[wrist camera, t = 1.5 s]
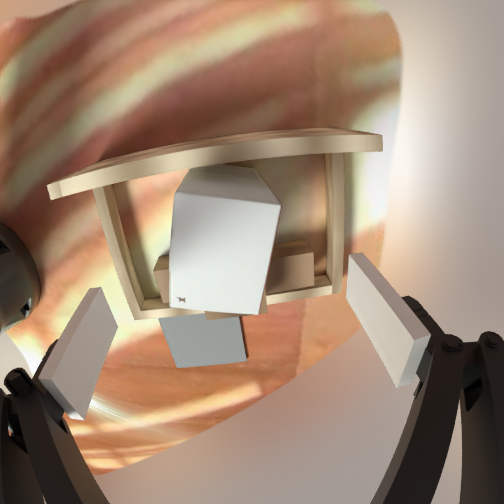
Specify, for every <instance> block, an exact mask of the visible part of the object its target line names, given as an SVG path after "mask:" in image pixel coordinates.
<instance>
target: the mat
mask: <svg viewBox="0 0 504 504" xmlns="http://www.w3.org/2000/svg"><path fill="white" fill-rule="evenodd" d="M158 319H159V322H160V325H161V328H162V330H163V333H164V336H165V338H166V341H167V343H168V346H169V348H170V351H171V353H172V356H173V358H174V361H175V363H176V366H177V368H183V367H195V366H207V365H217V364H226V363H234V362H242V361H247V359H246V353H245V348H244V342H243V337H242V331H241V325H240V319H239V317H232V318H223V319H215V320H206V316H205V313H200V314H191V315H182V316H173V317H163V318H158Z"/></svg>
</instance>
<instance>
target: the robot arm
mask: <svg viewBox="0 0 504 504" xmlns="http://www.w3.org/2000/svg"><path fill="white" fill-rule="evenodd" d="M39 298H40V282H39V277H38V273H37V270H36V267H35V264H34V262H33V260H32V258H31V256H30V254H29V252H28V250H27V249H26V247H25V246H24V244H23V243H22V242H21V240H20V239H19V238H18V237H17V236H16V235H15V234H14V233H13V232H12V231H11V230H10V229H9V228H7V227H6V226H4V225H3V224H1V223H0V335H1V334H2V333H3V332H5V331H7V330H8V329H10V328H12V327H13V326H15V325H17V324H19V323H20V322H22V321H24V320H25V319H26V318H27V317H29V315H30V314H31V313H32V311H33V310H34V309H35V307H36V306H37V304H38V301H39ZM346 299H347V301H348V302H349V304H350V306H351V307H352V309H353V311H354V312H355V314H356V316H357V318H358V319H359V321H360V323H361V324H362V326H363V328H364V330H365V331H366V333H367V335H368V336H369V338H370V340H371V342H372V344H373V345H374V347H375V349H376V351H377V352H378V354H379V356H380V358H381V360H382V361H383V363H384V365H385V367H386V369H387V370H388V372H389V374H390V376H391V378H392V380H393V382H394V383H395V385H396V387H397V388H398V387H401V386H404V385H407V384H410V383H412V382H413V380H414V378H415V375H416V374H417V375H418V377H419V379H420V382H419V384H418V386H417V388H416V390H415V393H414V396H415V397H414V400H413V404H412V407H411V410H410V413H409V416H408V419H407V422H406V425H405V427H404V430H403V433H402V435H401V438H400V441H399V443H398V446H397V448H396V451H395V453H394V455H393V458H392V460H391V462H390V465H389V467H388V469H387V471H386V474H385V476H384V478H383V480H382V482H381V484H380V486H379V488H378V490H377V492H376V494H375V496H374V498H373V500H372V501H371V503H370V504H431V501H432V498H433V496H434V493H435V491H436V488H437V485H438V482H439V479H440V476H441V473H442V470H443V467H444V463H445V460H446V457H447V453H448V450H449V446H450V442H451V438H452V433H453V429H454V425H455V420H456V415H457V410H458V404H459V398H460V409H461V424H462V479H461V492H460V503H459V504H504V341H503V339H502V337H500V336H499V335H498V334H496V333H494V332H490V331H487V332H484V333H482V334H481V336H480V338H479V340H478V342H465V343H464V342H463V341H462V340H461V339H460V338H458V337H457V336H454V335H451V334H445V333H444V332H443V331H442V329H441V328H440V327H439V326H438V324H437V323H436V322H435V321H434V320H433V318H432V317H431V316H430V315H428V313H427V311H426V310H425V309H424V308H423V307H422V306H421V304H420V303H419V302H418V301H417V300H415V299H413V298H412V297H410V296H405V297H400V295H399V294H398V293H397V292H396V291H395V289H394V288H393V287H392V286H391V285H390V283H389V282H388V281H387V280H386V279H385V278H384V276H383V275H382V274H381V273H380V272H379V271H378V270H377V268H376V267H375V266H374V265H373V264H372V263H371V262H370V261H369V259H368V258H367V257H366V256H365V255H364V254H363V253H355V254H349V263H348V279H347V293H346ZM117 328H118V326H117V324H116V321H115V319H114V317H113V315H112V312H111V310H110V308H109V305H108V303H107V300H106V298H105V295H104V293H103V290H102V288H101V287H98V288H90V289H89V290H88V292H87V293H86V295H85V297H84V298H83V300H82V301H81V303H80V304H79V306H78V308H77V309H76V311H75V313H74V314H73V316H72V317H71V319H70V321H69V322H68V324H67V326H66V328H65V329H64V331H63V333H62V334H61V336H60V338H59V339H57V340H56V341H55V342H54V343H53V344H52V345H51V346H50V347H49V348H48V350H47V352H46V355H45V356H44V357H43V359H42V361H41V363H40V365H39V367H38V369H37V371H36V373H35V374H34V376H33V378H32V379H31V378H30V377H29V375H28V374H27V372H26V371H25V370H24V369H23V368H16V369H13V370H12V371H10V372H9V373H8V374H7V376H6V377H5V380H4V385H5V386H6V387H7V389H8V390H9V391H10V392H11V394H8V395H6V394H5V392H4V391H3V390H2V389H1V388H0V504H44V499H43V496H44V498H45V501H46V503H47V504H110V503H109V502H108V500H107V499H106V497H105V496H104V494H103V493H102V491H101V489H100V488H99V486H98V484H97V483H96V481H95V480H94V477H93V475H92V474H91V472H90V470H89V468H88V466H87V464H86V463H85V461H84V459H83V457H82V455H81V453H80V451H79V449H78V447H77V445H76V442H75V440H74V438H73V436H72V434H71V432H70V429H69V427H68V425H67V422H66V421H65V419H64V418H63V417H62V416H63V413H64V411H65V412H66V413H67V414H68V416H69V417H70V418H71V419H78V420H84V419H85V416H86V413H87V410H88V407H89V404H90V401H91V398H92V395H93V392H94V389H95V386H96V383H97V380H98V377H99V375H100V372H101V369H102V366H103V364H104V361H105V358H106V356H107V353H108V351H109V348H110V345H111V343H112V340H113V338H114V335H115V333H116V330H117ZM8 429H9V430H10V431H11V436H10V435H9V432H8Z"/></svg>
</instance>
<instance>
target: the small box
mask: <svg viewBox="0 0 504 504" xmlns="http://www.w3.org/2000/svg"><path fill="white" fill-rule="evenodd" d="M281 207H282V206H281V204H280V203H279V201H278V200H277V198H276V197H275V195H274V194H273V192H272V191H271V190H270V188H269V187H268V185H267V184H266V182H265V181H264V180H263V178H262V177H261V175H260V174H259V172H258V171H257V170H256V169H255V168H247V167H240V166H233V165H225V164H216V165H209V166H202V167H196V168H190V170H189V171H188V173H187V174H186V176H185V177H184V179H183V181H182V182H181V184H180V186H179V187H178V189H177V191H176V192H175V196H174V205H173V216H172V228H171V241H170V254H169V275H170V279H169V305H170V307H173V308H183V309H191V310H201V311H212V312H225V313H239V314H256V315H258V314H259V313H260V308H261V304H262V299H263V295H264V290H265V285H266V280H267V276H268V271H269V266H270V262H271V257H272V252H273V247H274V242H275V237H276V232H277V227H278V222H279V217H280V212H281Z"/></svg>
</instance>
